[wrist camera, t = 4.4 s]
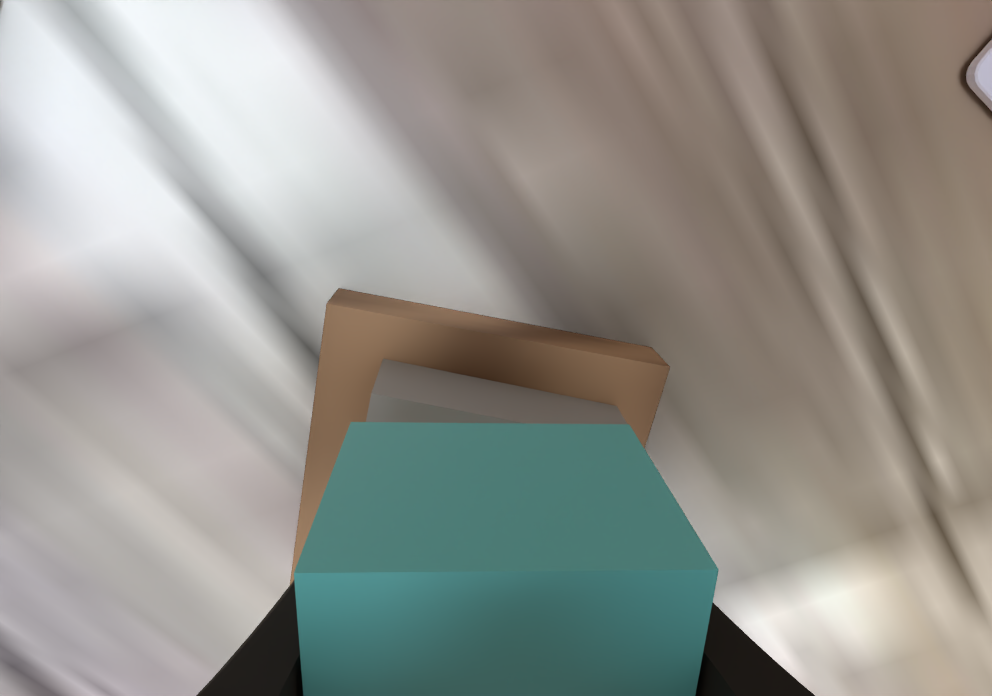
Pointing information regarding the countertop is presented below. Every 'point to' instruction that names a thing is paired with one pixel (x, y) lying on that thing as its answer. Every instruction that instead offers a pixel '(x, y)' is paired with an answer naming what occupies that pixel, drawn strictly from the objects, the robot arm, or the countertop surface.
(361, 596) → the teal block
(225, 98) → the countertop surface
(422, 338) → the walnut base slab
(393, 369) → the grey middle slab
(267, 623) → the robot arm
